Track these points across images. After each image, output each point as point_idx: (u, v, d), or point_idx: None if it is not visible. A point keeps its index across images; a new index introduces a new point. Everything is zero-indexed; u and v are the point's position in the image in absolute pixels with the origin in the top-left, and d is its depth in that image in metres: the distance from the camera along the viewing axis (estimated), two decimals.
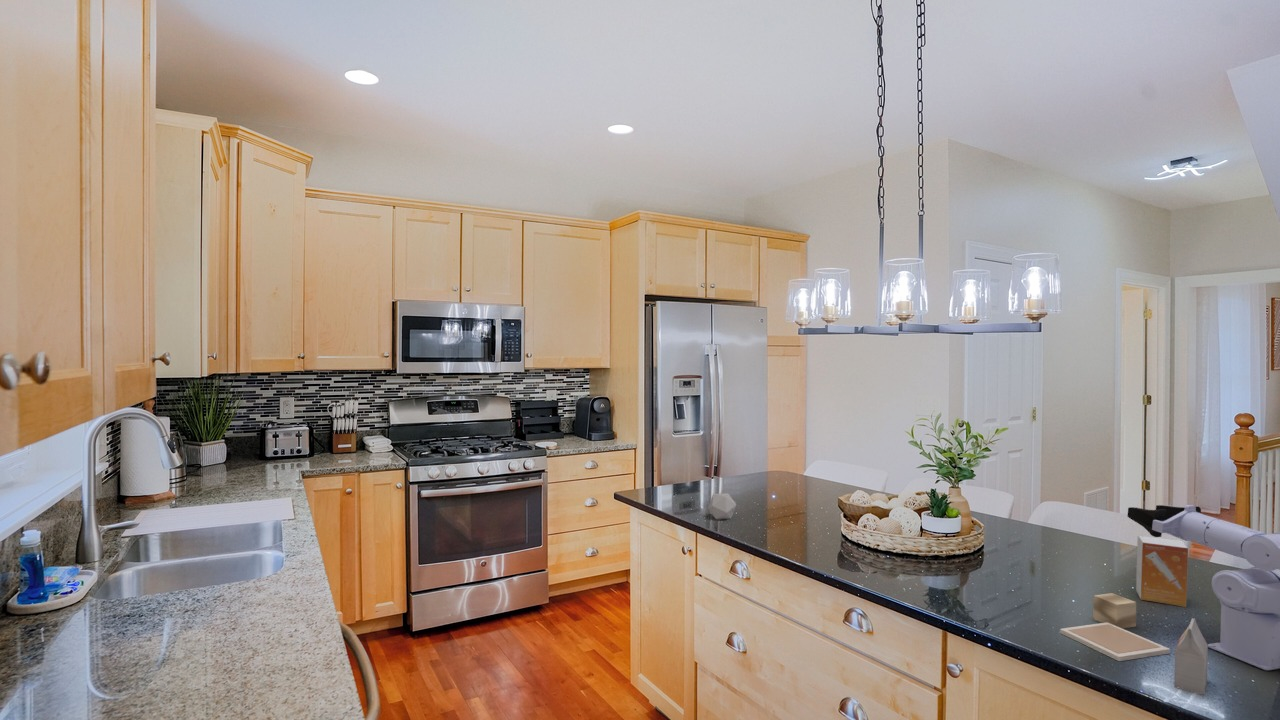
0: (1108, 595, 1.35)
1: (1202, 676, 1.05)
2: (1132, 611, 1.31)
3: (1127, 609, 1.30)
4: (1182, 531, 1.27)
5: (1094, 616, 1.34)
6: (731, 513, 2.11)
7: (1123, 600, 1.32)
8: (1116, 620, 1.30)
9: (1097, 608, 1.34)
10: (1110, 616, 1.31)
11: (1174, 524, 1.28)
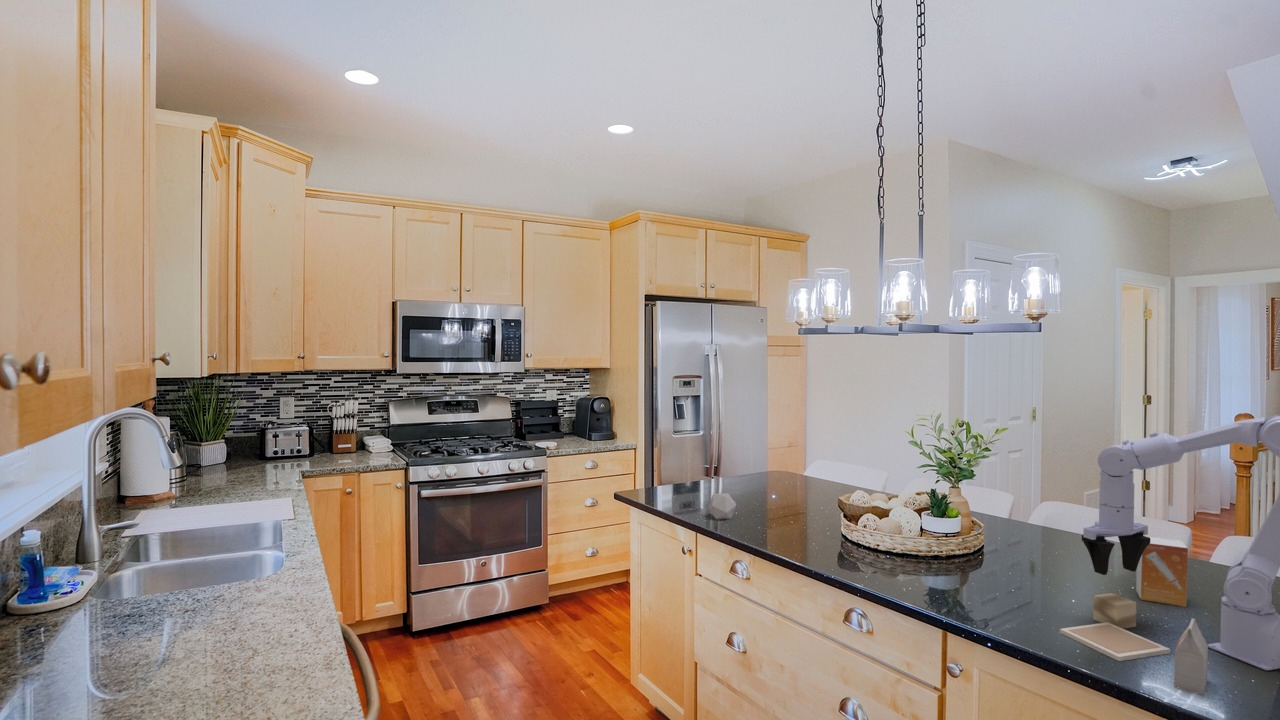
0: (1108, 595, 1.35)
1: (1202, 676, 1.05)
2: (1132, 611, 1.31)
3: (1127, 609, 1.30)
4: (1109, 525, 1.31)
5: (1094, 616, 1.34)
6: (731, 513, 2.11)
7: (1123, 600, 1.32)
8: (1116, 620, 1.30)
9: (1097, 608, 1.34)
10: (1110, 616, 1.31)
11: None
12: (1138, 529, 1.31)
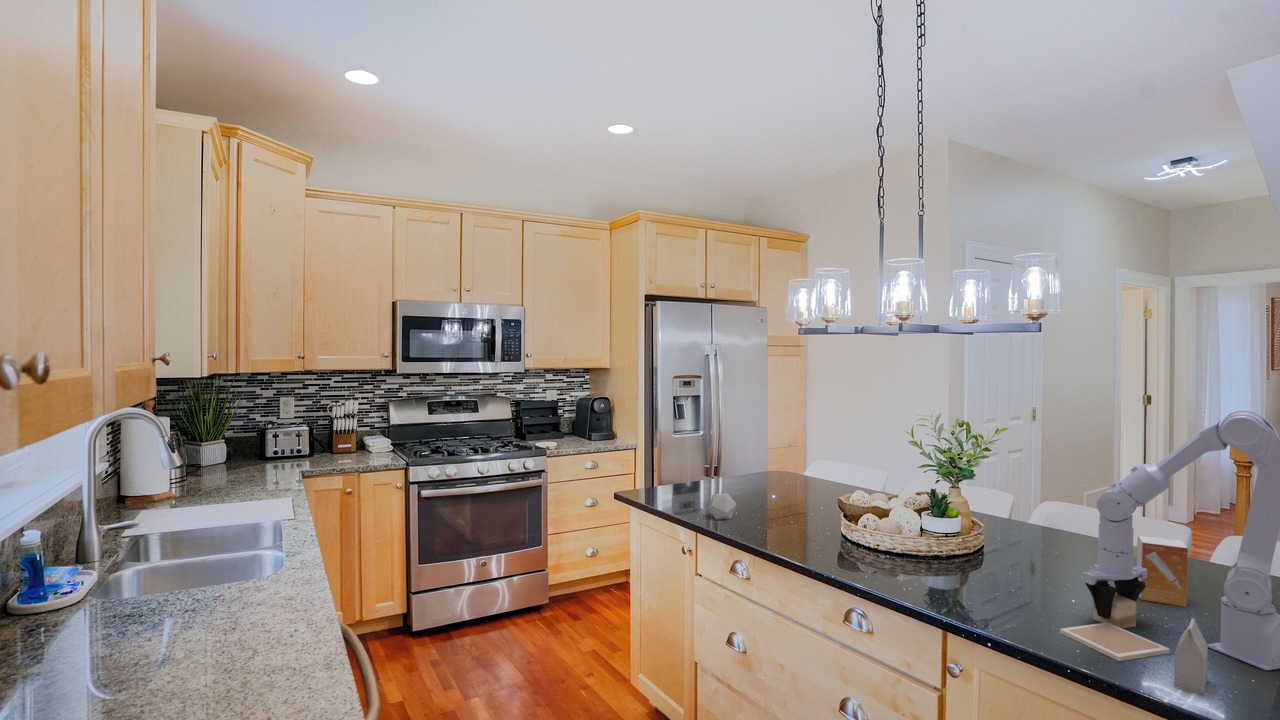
0: None
1: (1202, 676, 1.05)
2: (1132, 611, 1.31)
3: (1127, 609, 1.30)
4: (1108, 570, 1.31)
5: (1094, 615, 1.34)
6: (731, 513, 2.11)
7: (1123, 600, 1.32)
8: (1116, 620, 1.30)
9: None
10: None
11: None
12: (1137, 574, 1.32)
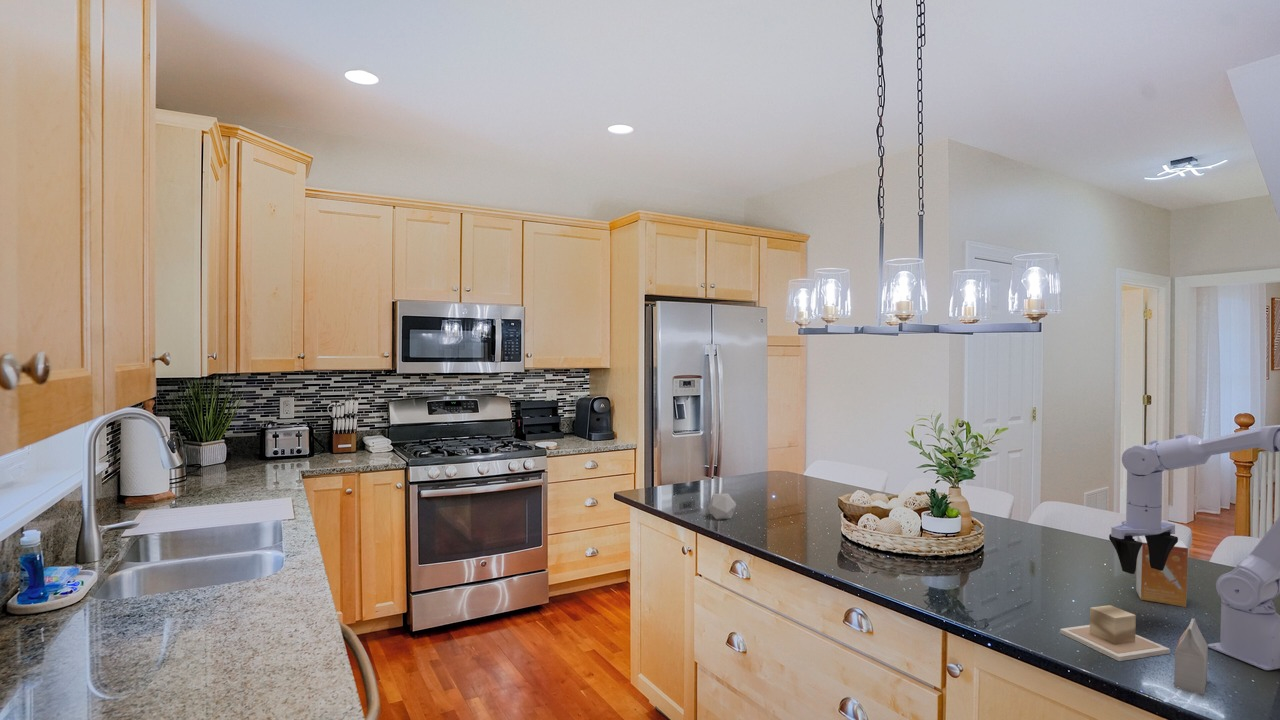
0: (1105, 607, 1.26)
1: (1202, 676, 1.05)
2: (1131, 625, 1.22)
3: (1126, 623, 1.22)
4: (1137, 524, 1.32)
5: (1090, 629, 1.25)
6: (731, 513, 2.11)
7: (1121, 613, 1.23)
8: (1114, 635, 1.21)
9: (1094, 621, 1.25)
10: (1107, 630, 1.22)
11: None
12: (1166, 528, 1.32)
